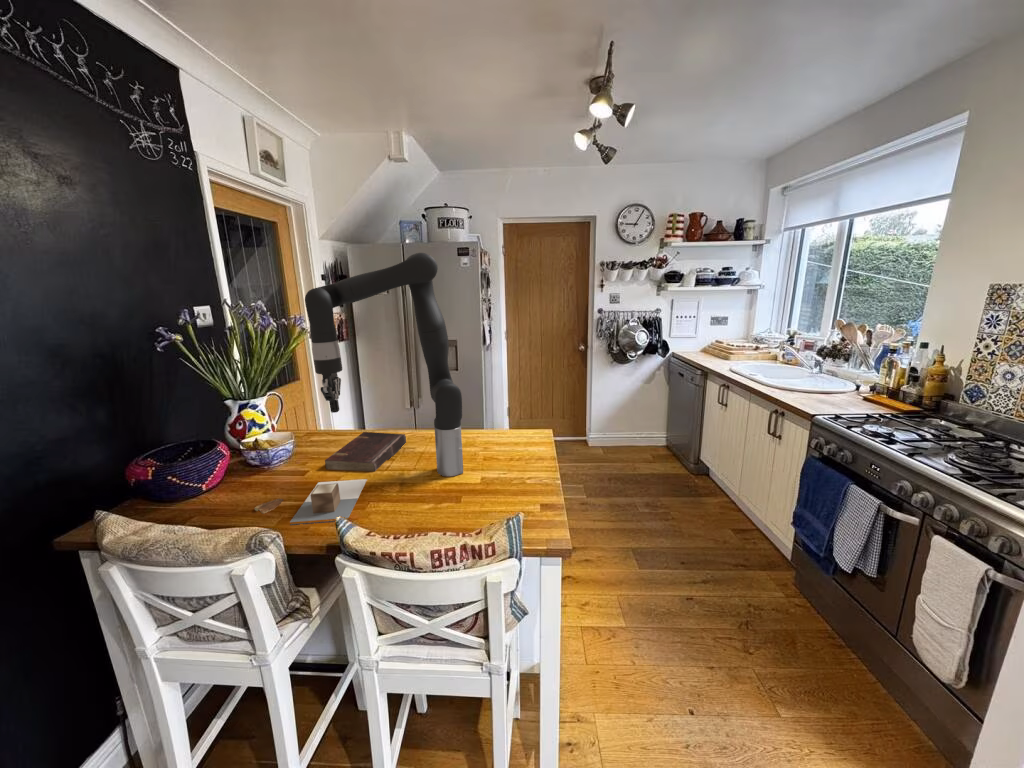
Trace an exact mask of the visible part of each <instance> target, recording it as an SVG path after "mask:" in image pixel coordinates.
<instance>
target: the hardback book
mask: <svg viewBox="0 0 1024 768" xmlns="http://www.w3.org/2000/svg"><path fill="white" fill-rule="evenodd" d="M406 437H407V436H406V434H404V433H386V432H373V431H372V432H369V431H368V432H367V431H362V433H360V434H359V435H357V436H356V437H355V438H353V439H352V440H351V441H349V442H348V443H347V444H345V445H343V446H342V447H340V449H338V450H337V451H336V452H334V453H333V454H332V455H330V456H328V457H327V458H326V459H325V460H324V464H325V470H333V471H334V470H335V471H353V472H354V471H356V472H363V471H364V472H376V471H377V470H378V469H379V468H380V467H382V466H383V464H384V463H385V462H386V461H390V460H391V459H392V458H393V457H394V456H395V455H396V454H397V453H398V452H399V451H401V449H402V448H403V447H404V446H405V445H406V444H407V438H406ZM405 443H406V444H405ZM404 444H405V445H404ZM403 445H404V446H403ZM402 446H403V447H402ZM401 447H402V448H401ZM392 456H393V457H392ZM391 457H392V458H391ZM390 458H391V459H390ZM389 459H390V460H389Z"/></svg>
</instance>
